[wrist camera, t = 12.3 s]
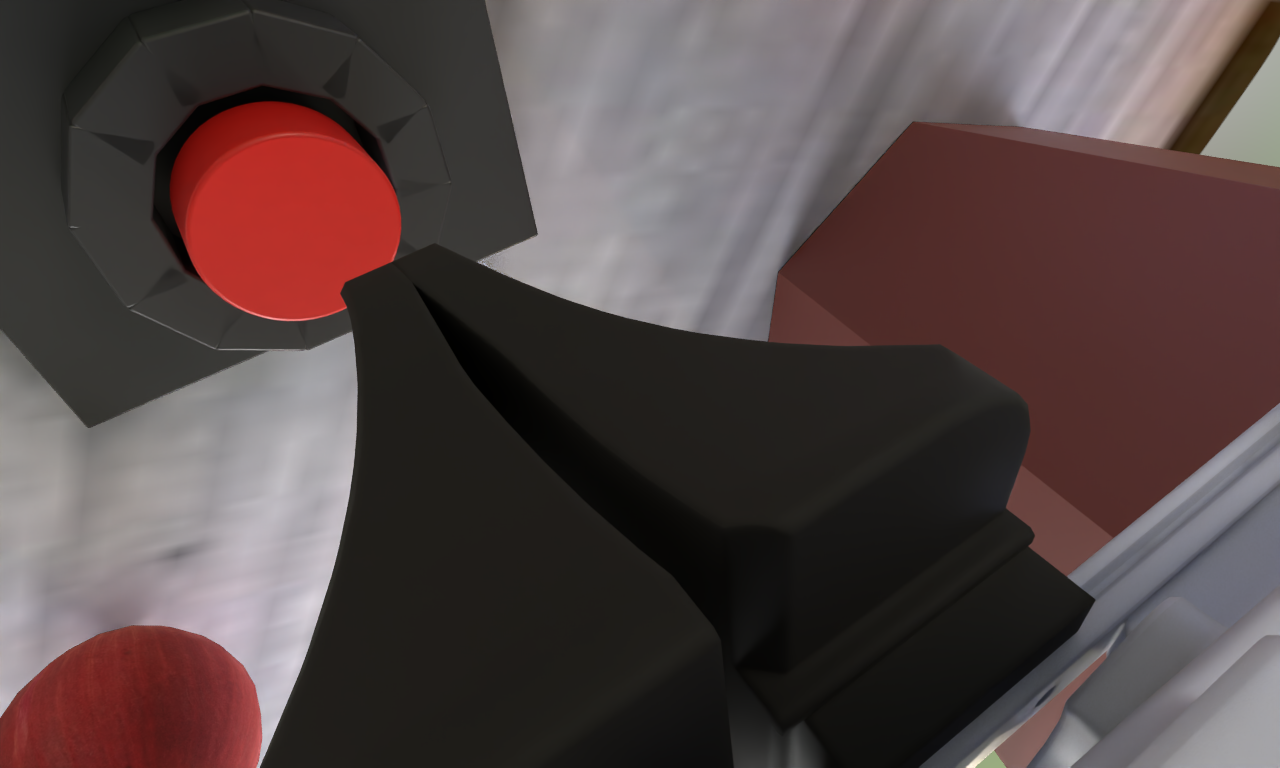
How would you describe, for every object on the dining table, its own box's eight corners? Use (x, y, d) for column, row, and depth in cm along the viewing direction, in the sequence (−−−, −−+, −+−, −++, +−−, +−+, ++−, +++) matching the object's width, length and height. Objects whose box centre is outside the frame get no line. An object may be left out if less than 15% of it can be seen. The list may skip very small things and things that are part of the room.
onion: (-33, 729, 21) (-38, 1052, 16) (5, 568, 19) (12, 877, 14) (204, 692, 25) (261, 941, 20) (254, 557, 23) (331, 793, 18)
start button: (333, 73, 14) (364, 102, 13) (396, 239, 17) (426, 276, 15) (125, 138, 13) (139, 177, 12) (227, 308, 15) (246, 353, 14)
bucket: (1071, -129, 26) (2784, 90, 10) (1105, 226, 43) (1769, 519, 27) (595, 407, 28) (1423, 1325, 12) (807, 547, 45) (1267, 1003, 29)
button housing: (423, -133, 16) (496, -110, 14) (509, 208, 21) (570, 264, 19) (-225, 19, 12) (-273, 85, 10) (81, 384, 18) (95, 479, 15)
